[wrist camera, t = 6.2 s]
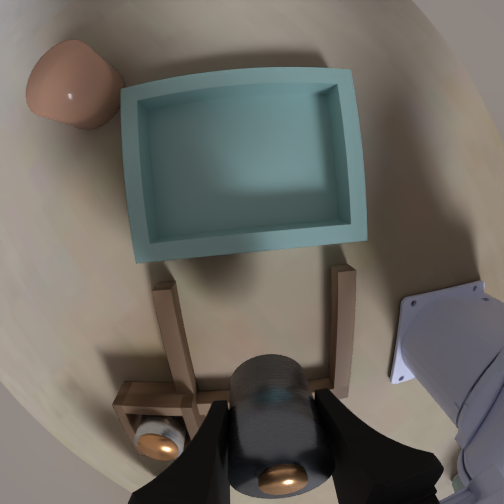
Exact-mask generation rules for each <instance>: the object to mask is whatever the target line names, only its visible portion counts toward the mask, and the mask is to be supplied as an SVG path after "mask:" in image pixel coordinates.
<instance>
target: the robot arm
mask: <svg viewBox="0 0 504 504" xmlns="http://www.w3.org/2000/svg"><path fill="white" fill-rule="evenodd" d="M484 288H485V283H484V281H482V280H479V281H475V282H471V283H467V284H463V285H459V286H454V287H450V288H446V289H441V290H437V291H432V292H428V293H423V294H418V295H413V296H408V297H405V298H404V299H403V300H402V301H401V306H400V316H399V324H398V332H397V339H396V346H395V352H394V359H393V364H392V370H391V375H390V382H391V383H392V384H397V383H400V382H404V381H407V380H410V379H413V378H416V379H417V380H418V381H419V382H420V383H421V384H422V386H423V387H424V388H425V389H426V390H427V391H428V393H429V394H430V395H431V396H432V397H433V399H434V400H435V401H436V402H437V403H438V405H439V406H440V407H441V408H442V409H443V411H444V412H445V413H446V414H447V416H448V417H449V418H450V419H451V420H452V422H453V423H454V424H455V425H456V427H457V428H458V434H457V436H456V437H455V440H456V441H457V443H458V444H459V445H460V447H461V448H462V449H461V451H460V453H459V456H458V460H457V470H458V474H459V477H460V479H461V481H462V483H463V484H464V486H465V487H464V488H463V489H461V490H459V491H457V492H456V493H454V494H452V495H450V496H448V497H447V498H445V499H443V500H441V501H438V499H437V497H436V495H435V494H436V493H437V490H436V488H435V487H434V485H435V484H436V482H437V481H438V480H439V478H440V477H441V475H442V473H443V470H444V467H443V466H442V464H441V463H440V461H439V460H438V458H437V457H436V456H435V455H434V454H433V453H430V452H426V451H422V450H418V449H415V448H412V447H409V446H406V445H403V444H401V443H399V442H396V441H394V440H392V439H390V438H388V437H386V436H384V435H382V434H381V433H379V432H377V431H376V430H374V429H373V428H371V427H370V426H368V425H367V424H366V423H364V422H363V421H362V420H360V419H359V418H358V417H357V416H356V415H354V414H353V413H352V412H351V411H350V410H349V409H348V408H347V407H346V406H345V405H344V404H343V403H342V402H341V401H340V400H339V399H338V398H337V397H336V396H335V395H334V394H333V393H332V392H331V391H330V389H328V388H324V389H318V390H315V396H314V401H315V404H316V406H317V409H318V412H319V415H320V418H321V421H322V424H323V427H324V430H325V433H326V436H327V439H328V442H329V445H330V448H331V451H332V454H333V457H334V460H335V469H334V472H333V474H332V477H333V481H334V485H335V489H336V494H337V498H338V503H339V504H504V303H503V302H501V301H500V300H498V299H496V298H494V297H492V296H490V295H488V294H486V293H484ZM412 301H414V302H413V304H412V305H411V302H412ZM228 436H229V408H228V403H227V400H218V401H213V402H212V404H211V406H210V409H209V411H208V413H207V415H206V417H205V419H204V421H203V423H202V424H201V426H200V428H199V430H198V431H197V433H196V434H195V436H194V437H193V439H192V440H191V442H190V443H189V445H188V446H187V447H186V448H185V450H184V451H183V452H182V453H181V454H180V456H179V457H178V458H177V459H176V460H175V461H174V462H173V463H172V464H171V465H170V466H169V467H168V468H167V469H166V470H165V471H163V472H162V473H161V474H160V475H158V476H157V477H156V478H155V479H153V480H152V481H151V482H149V483H148V484H146V485H145V486H143V487H141V488H140V489H138V490H137V491H135V492H133V493H132V495H131V498H130V500H129V502H128V504H230V483H229V481H228Z"/></svg>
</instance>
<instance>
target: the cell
mask: <svg viewBox="0 0 504 504" xmlns="http://www.w3.org/2000/svg"><path fill="white" fill-rule="evenodd" d="M334 469H335V460H334V457H333V454H332V451H331V448H330V445H329V442H328V439H327V436H326V433H325V430H324V427H323V424H322V421H321V418H320V415H319V412H318V409H317V406H316V404H315V401H314V398H313V395H312V392H311V389H310V386H309V383H308V380H307V377H306V374H305V372H304V370H303V368H302V367H301V366H300V365H299V364H298V363H297V362H296V361H295V360H293V359H291V358H289V357H286V356H282V355H277V354H267V355H260V356H256V357H254V358H251V359H249V360H247V361H245V362H244V363H242V364H241V365H240V366H239V367H238V368H237V369H236V370H235V371H234V373H233V375H232V377H231V380H230V398H229V436H228V481H229V483H230V485H231V486H232V487H233V488H234V489H235V490H237V491H238V492H240V493H242V494H245V495H248V496H252V497H257V498H266V499H276V498H286V497H291V496H296V495H299V494H303V493H305V492H308V491H310V490H312V489H314V488H316V487H318V486H320V485H321V484H323V483H324V482H325V481H326V480H327V479H328V478H329V477H330V476H331V475H332V474H333V472H334Z"/></svg>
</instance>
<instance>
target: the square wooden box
mask: <svg viewBox="0 0 504 504" xmlns="http://www.w3.org/2000/svg"><path fill="white" fill-rule="evenodd" d="M198 393H199V391H198V387H197V383H196V386H195V391H194V394H177V390H176V387H175V383H174V382H124V383H123V385H122V387H121V389H120V390H119V392H118V394H117V396H116V398H115V400H114V402H113V404H112V405H113V408H114V410H115V412H116V414H117V416H118V418H119V420H120V422H121V424H122V426H123V428H124V430H125V432H126V434H127V436H128V438H129V440H130V441H131V443H132V445H133V447H134V449H135V451H136V452H137V454H138V455H145V454H144V453H142V452H141V451H140V449H139V448H138V447H137V446H136V444H135V442H134V437H135V434H136V432H137V429H138V426H139V423H140V420H141V418H142V415H164V416H183V418H184V421H185V424H186V427H187V430H186V436H185V441H184V447H183V451H184V450H185V448H186V447H187V446H188V445H189V443H190V442H191V440H192V439H193V437H194V436H195V434H196V433H197V431H198V430H199V428H200V426H201V424H202V423H203V421H204V419H205V415H200V414H199V410H198V407H197V399H198Z"/></svg>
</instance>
